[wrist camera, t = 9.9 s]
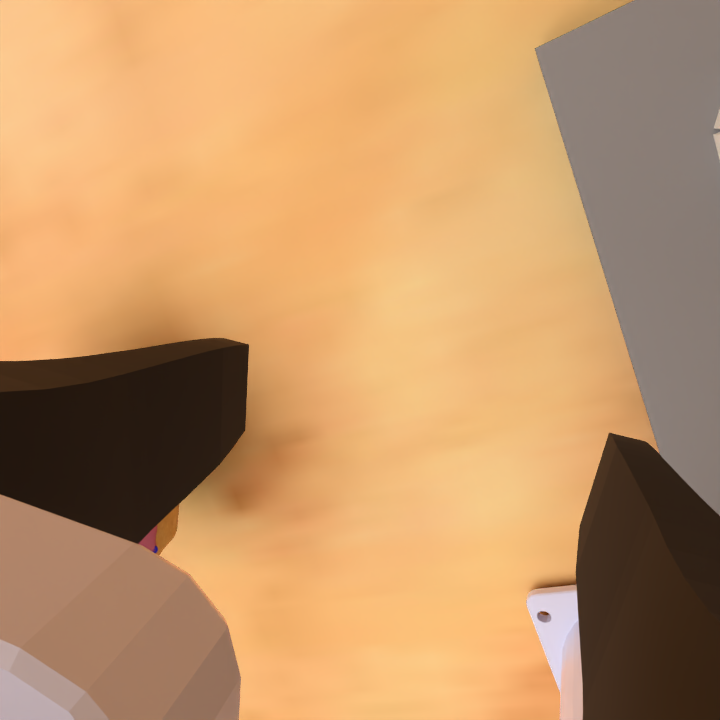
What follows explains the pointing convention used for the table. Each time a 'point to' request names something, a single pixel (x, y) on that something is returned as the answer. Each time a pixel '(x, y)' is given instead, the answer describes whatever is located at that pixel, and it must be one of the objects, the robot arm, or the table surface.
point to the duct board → (654, 204)
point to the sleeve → (717, 134)
